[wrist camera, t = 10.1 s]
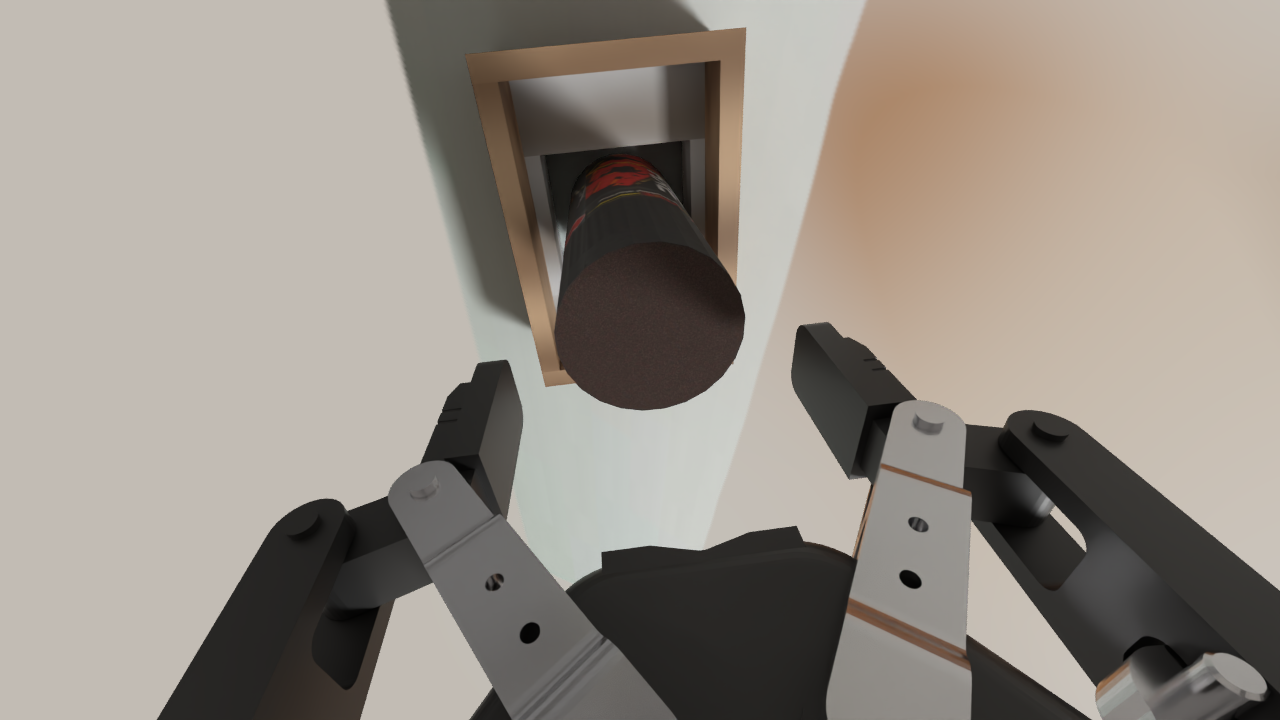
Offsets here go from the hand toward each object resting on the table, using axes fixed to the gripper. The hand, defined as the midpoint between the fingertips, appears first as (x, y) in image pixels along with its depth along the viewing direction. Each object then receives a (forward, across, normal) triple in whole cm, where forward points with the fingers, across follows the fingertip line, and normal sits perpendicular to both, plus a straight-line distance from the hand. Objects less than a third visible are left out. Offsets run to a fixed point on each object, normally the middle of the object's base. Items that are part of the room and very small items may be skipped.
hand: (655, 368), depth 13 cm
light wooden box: (+17, 0, 0) cm, 17 cm away
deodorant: (+17, 0, 0) cm, 17 cm away
